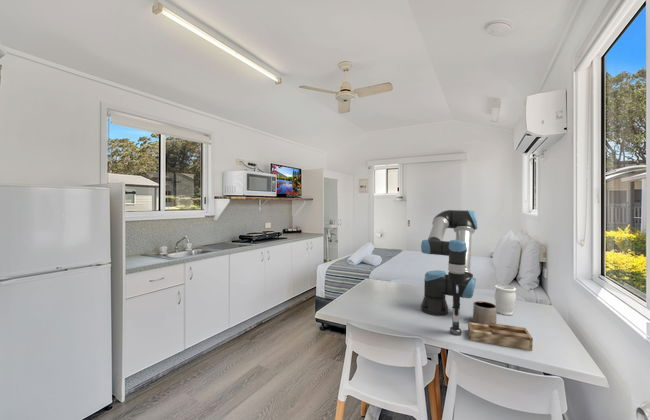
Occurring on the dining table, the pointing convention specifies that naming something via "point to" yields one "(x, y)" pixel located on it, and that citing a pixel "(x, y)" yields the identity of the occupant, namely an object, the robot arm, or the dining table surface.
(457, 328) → the metal hex bolt
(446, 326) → the dining table surface
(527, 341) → the rail
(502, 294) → the jar
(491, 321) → the planter
